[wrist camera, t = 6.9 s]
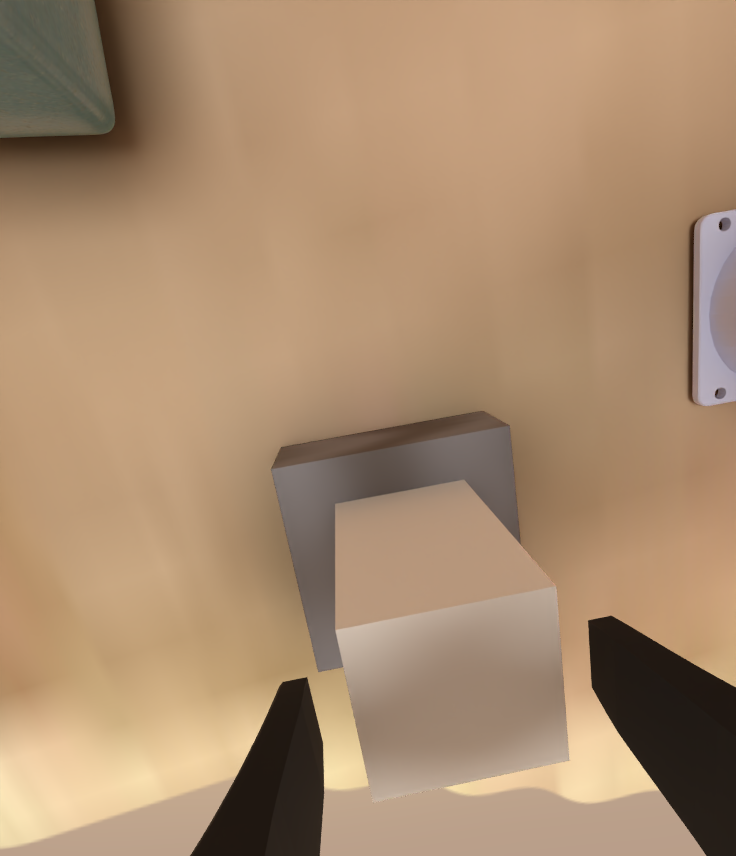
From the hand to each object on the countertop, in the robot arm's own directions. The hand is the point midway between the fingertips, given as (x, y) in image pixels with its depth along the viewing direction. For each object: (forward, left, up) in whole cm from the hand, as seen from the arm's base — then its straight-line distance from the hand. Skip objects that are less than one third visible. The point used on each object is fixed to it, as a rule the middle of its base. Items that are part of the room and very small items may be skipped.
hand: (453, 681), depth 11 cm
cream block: (0, 0, -6) cm, 6 cm away
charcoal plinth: (0, 0, -9) cm, 9 cm away
